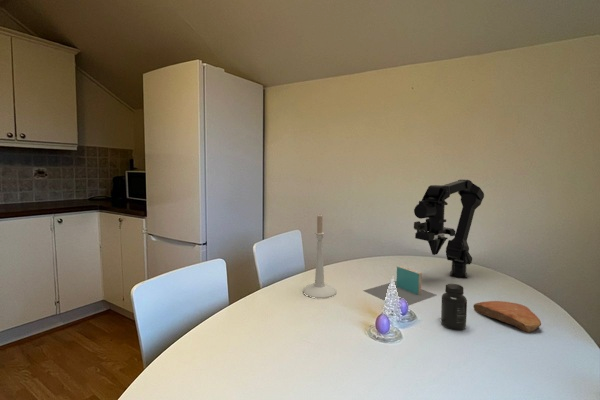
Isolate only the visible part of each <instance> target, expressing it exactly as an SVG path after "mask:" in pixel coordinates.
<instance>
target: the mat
mask: <svg viewBox="0 0 600 400" xmlns="http://www.w3.org/2000/svg"><path fill="white" fill-rule="evenodd" d="M394 282H395V285H396V283H397V280H395V281H394ZM390 283H391V282H388V283H384V284H381V285H378V286H374V287H371V288H367V289H364V290H362V292H365V293H367V294H369V295H372V296H374V297H376V298H378V299H380V300H382V301H384V300H385V297H386V293H387V289H388V286H389V284H390ZM396 288H397V292H398V296H399V297H401V298H404V299H405V300H406V301H407V303H408V306H412V305H414V304H417V303H420V302H423V301H425V300H427V299H431V298H434V297H435V296H438V295H437V294H436V293H433V292H430V291H427V290H425V289H423V288H421V294H419V295H417V294H415V293H412V292H410V291H407V290H404V289H402V288H399V287H397V286H396ZM408 306H407V307H408Z"/></svg>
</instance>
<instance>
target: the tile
mask: <svg viewBox="0 0 600 400" xmlns="http://www.w3.org/2000/svg"><path fill="white" fill-rule="evenodd" d="M396 281H397V283H396V286H397V287H399V288H402V289H404V290H407V291H410V292H412V293H415V294H417V295H419V294H421V289H422V272H419V271H416V270H414V269H410V268H407V267H404V266H400V265H399V266H396Z"/></svg>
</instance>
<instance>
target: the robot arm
mask: <svg viewBox="0 0 600 400" xmlns="http://www.w3.org/2000/svg"><path fill="white" fill-rule="evenodd" d="M455 193H456V194H457V193H458V195H459V196H460V203H461V205H462V208H461V212H460V215H459V219H458V223H457V226H456V230H455V228H452V227H446V226H445V223H446V222H447V219H446V218H445V208H446V207H445V206H447V205H448V202H447V201H446V200H447V199H449V198H450V196H451V195H453V194H455ZM484 198H485V193H484V191H483V190H482V188H481V187H480V186H478V185H477V184H475V183H473V182H472V180H470V179H458V180H456V181H452V182H448V183H445V184H441V185H440V184H433V185H429V186H428V187H427V189H426V190H425V192H424V194H423V196H422V199H421V200H419V201H418V203H417V204H416V205H415V207H414V209H413V213H414V215H415V217H416V218H418V219H420V220H422V219H425V222H421V221H420V220H419V221H414V222H413V229H414V230H416V232H415V234H414V239H417V240H421V241H426V242H427V243H428V245H429V248H430V253H431V254H432V255H433V256H435V255H438V254H439V252H440V251H441V249H442V247H443V245H444V244H445V243H446V241H447V240H448V241H447V245H446V248H445V255H446V260H447V261H451V270H450V273H449V276H450V277H455V278H461V279H463V278H464V279H467V278H468V273H467V265H471V264H472V263H473V257H472V255H471V254H470V252H469V251H470V247H469V243H468V238H469V233H470V230H471V226H472V223H473V220H474V219H473V218H474V215H475V211H476V209H477V208H479V207H480V206H481V204H482V202H483V200H484ZM444 226H445V227H444ZM445 235H449V236H450V237H453V239H449V238H448V237H446V236H445Z"/></svg>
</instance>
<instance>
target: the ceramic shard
mask: <svg viewBox="0 0 600 400" xmlns="http://www.w3.org/2000/svg"><path fill="white" fill-rule="evenodd" d="M473 309H474V311H475V312H476V313H478V314H481V315H484V316H487V317H489V318H491V319H494V320H499V321H500V322H503V323H506V324H508V325H512V326H515V327H516V328H518V329H519V330H521V331H523V332H526V333H530V332H533V331H536V330H537V329H539V328H540V326H542V322H541V320H540V318H539V317H538V316H537V315H536V314H535V312H534V311H532V310H531V309H530V308H529V307H528V306H526V305H523V304H521V303H516V302H510V301H503V300H491V301H481V302H480V301H479V302H476V303H474V304H473Z"/></svg>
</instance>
